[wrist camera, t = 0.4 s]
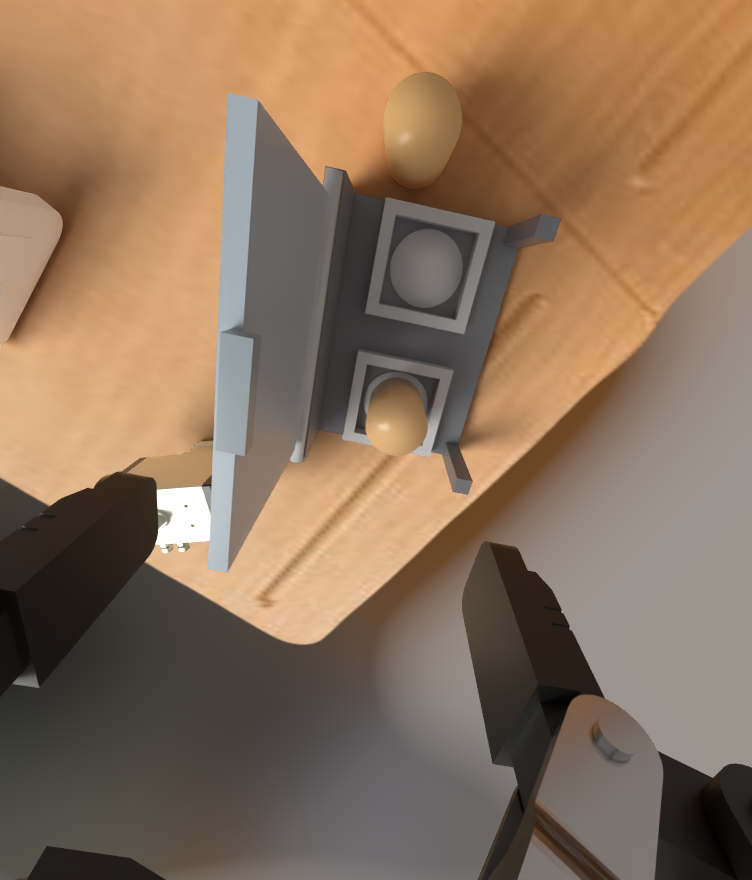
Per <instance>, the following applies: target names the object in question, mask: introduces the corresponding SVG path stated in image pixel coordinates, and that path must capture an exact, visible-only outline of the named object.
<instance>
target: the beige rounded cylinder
mask: <svg viewBox="0 0 752 880" xmlns="http://www.w3.org/2000/svg"><path fill="white" fill-rule="evenodd" d="M461 128H462V108H461V103H460V100H459V97H458V95H457V93H456V91H455V89H454V88H453V87H452V85H451V84H450V83H449V82H448V81H447V80H446V79H444V78H443V77H441V76H439V75H437V74H434V73H430V72H420V73H416V74H413V75H410V76H409V77H407V78H405V79H404V80H403V81H401V82H400V83H399V84H398V85H397V87H396V88H395V89H394V90H393V92H392V94H391V95H390V97H389V99H388V102H387V105H386V108H385V112H384V148H385V161H386V165H387V168H388V171H389V173H390V174H391V176H392V177H393V179H394V180H395V181H396V182H397V183H398V184H400V185H401V186H403V187H405V188H409V189H422V188H425V187H427V186H429V185H431V184H432V183H433V182H435V181H436V180H437V179H438V177H439V176H440V175H441V173H442V172H443V170H444V168H445V166H446V164H447V162H448V160H449V158H450V156H451V154H452V152H453V150H454V148H455V146H456V144H457V142H458V139H459V136H460V133H461Z"/></svg>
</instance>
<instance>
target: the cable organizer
mask: <svg viewBox="0 0 752 880" xmlns="http://www.w3.org/2000/svg"><path fill="white" fill-rule="evenodd" d="M62 228H63V221H62V217H61V215H60V214H59V213H58V212H57V211H56V210H55V209H54V208H52V207H51V206H50V205H49V204H48V203H46V202H45V201H44V200H43V199H42V198H40V197H39V196H38V195H35V194H32V193H28V192H24V191H19V190H15V189H10V188H6V187H2V186H0V348H1V347H2V346H3V345H4V344H5V343H6V341H7V340H8V338H9V337H10V335H11V333H12V331H13V329H14V327H15V325H16V323H17V321H18V319H19V317H20V315H21V313H22V311H23V309H24V307H25V305H26V303H27V301H28V300H29V298H30V296H31V294H32V292H33V290H34V288H35V286H36V284H37V282H38V280H39V278H40V276H41V274H42V272H43V270H44V268H45V266H46V264H47V262H48V260H49V258H50V256H51V254H52V252H53V250H54V249H55V247H56V245H57V243H58V241H59V239H60V236H61V233H62Z"/></svg>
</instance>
